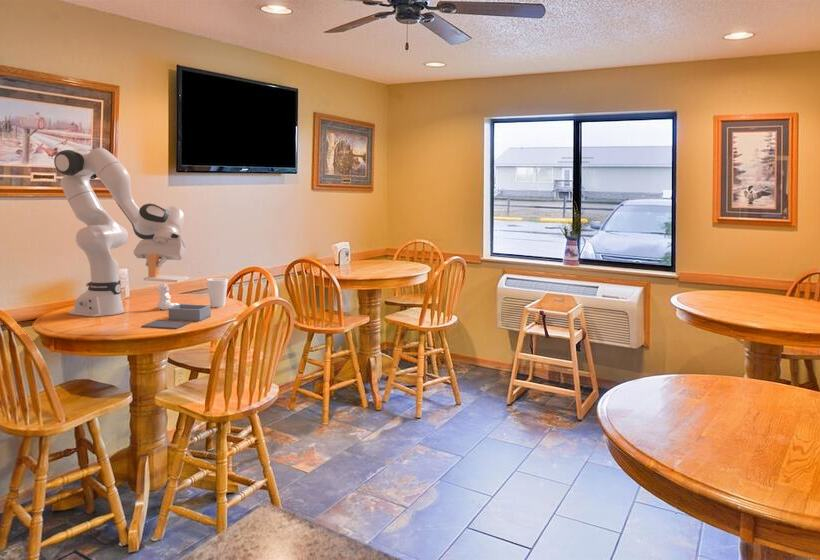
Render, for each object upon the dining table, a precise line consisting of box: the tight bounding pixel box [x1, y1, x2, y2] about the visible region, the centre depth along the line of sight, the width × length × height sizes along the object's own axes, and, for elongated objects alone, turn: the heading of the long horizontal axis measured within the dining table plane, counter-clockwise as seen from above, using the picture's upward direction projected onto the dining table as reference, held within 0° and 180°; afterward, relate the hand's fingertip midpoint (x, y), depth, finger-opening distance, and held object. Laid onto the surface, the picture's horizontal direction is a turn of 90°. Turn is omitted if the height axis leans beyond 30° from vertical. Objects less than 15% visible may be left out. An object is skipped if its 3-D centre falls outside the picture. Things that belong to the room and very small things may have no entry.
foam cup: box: [206, 277, 229, 308], centre depth 283 cm, size 10×9×13 cm
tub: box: [167, 303, 212, 322], centre depth 257 cm, size 14×10×5 cm
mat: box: [141, 319, 191, 330], centre depth 244 cm, size 15×11×1 cm
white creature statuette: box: [155, 282, 180, 311], centre depth 274 cm, size 10×9×12 cm
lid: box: [143, 254, 190, 283], centre depth 241 cm, size 14×10×10 cm
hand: (152, 265), depth 241 cm, fingers closed on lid, 3 cm apart
